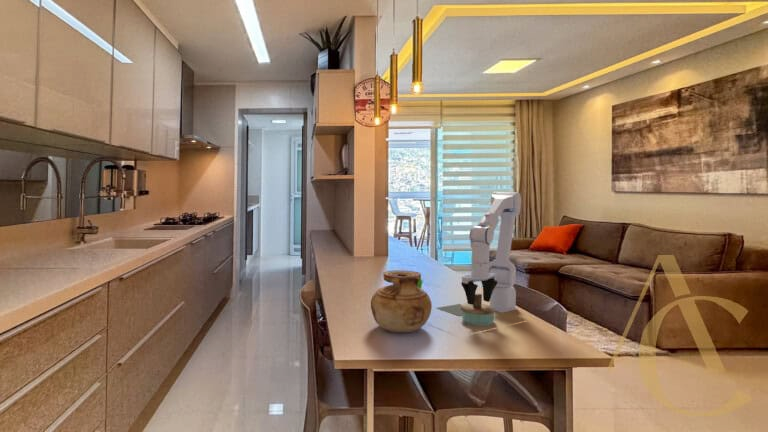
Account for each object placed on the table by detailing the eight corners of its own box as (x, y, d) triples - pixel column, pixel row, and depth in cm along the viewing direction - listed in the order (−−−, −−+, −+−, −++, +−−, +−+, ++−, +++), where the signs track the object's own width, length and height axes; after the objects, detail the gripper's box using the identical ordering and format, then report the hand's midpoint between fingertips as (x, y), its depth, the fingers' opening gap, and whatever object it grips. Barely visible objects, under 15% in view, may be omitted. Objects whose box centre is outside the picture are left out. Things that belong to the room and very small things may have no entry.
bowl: (477, 316, 145) (477, 304, 145) (499, 323, 137) (500, 311, 137) (456, 320, 140) (456, 308, 140) (478, 328, 132) (479, 316, 131)
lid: (476, 303, 146) (477, 289, 146) (501, 311, 137) (501, 296, 137) (453, 307, 141) (454, 292, 140) (477, 316, 131) (477, 300, 131)
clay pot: (354, 314, 134) (378, 256, 136) (402, 330, 141) (423, 275, 143) (377, 332, 116) (403, 265, 118) (430, 349, 123) (454, 286, 125)
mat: (459, 304, 160) (459, 303, 160) (482, 312, 150) (482, 311, 150) (435, 309, 153) (435, 307, 153) (458, 317, 143) (458, 316, 143)
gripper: (486, 259, 145) (484, 297, 146) (455, 261, 137) (454, 302, 137) (502, 262, 139) (500, 301, 140) (471, 265, 131) (469, 307, 132)
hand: (478, 302), depth 138 cm, fingers open, 7 cm apart
